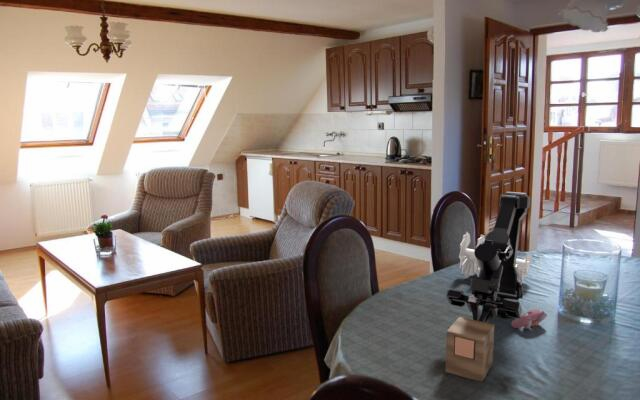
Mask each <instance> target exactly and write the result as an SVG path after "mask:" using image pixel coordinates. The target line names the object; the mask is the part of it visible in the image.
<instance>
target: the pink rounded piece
mask: <svg viewBox="0 0 640 400" xmlns="http://www.w3.org/2000/svg"><path fill="white" fill-rule="evenodd" d="M547 316H548V314H547V313H546V312H545V311H544V310H541V308H539V309H529V310H528V311H527V312H525V313H523V314H521V317H520V318H519V319H518V318H515V319H513V320H512V321H511V327H513V328H514V329H521V328H522V327H523V328H525V329H526V330H527V329H530V328H531V327H536V326H538V325H539V323H541V322H543V321H544V320H545V319H546V318H547Z"/></svg>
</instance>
